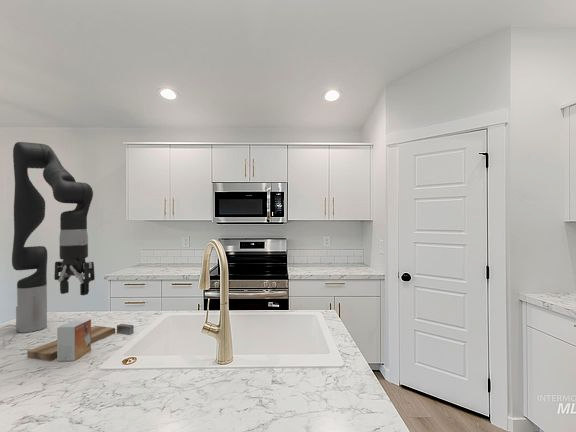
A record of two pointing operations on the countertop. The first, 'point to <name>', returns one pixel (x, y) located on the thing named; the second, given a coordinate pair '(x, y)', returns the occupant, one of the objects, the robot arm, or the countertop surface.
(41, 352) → the plank
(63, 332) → the small box
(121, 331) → the block
